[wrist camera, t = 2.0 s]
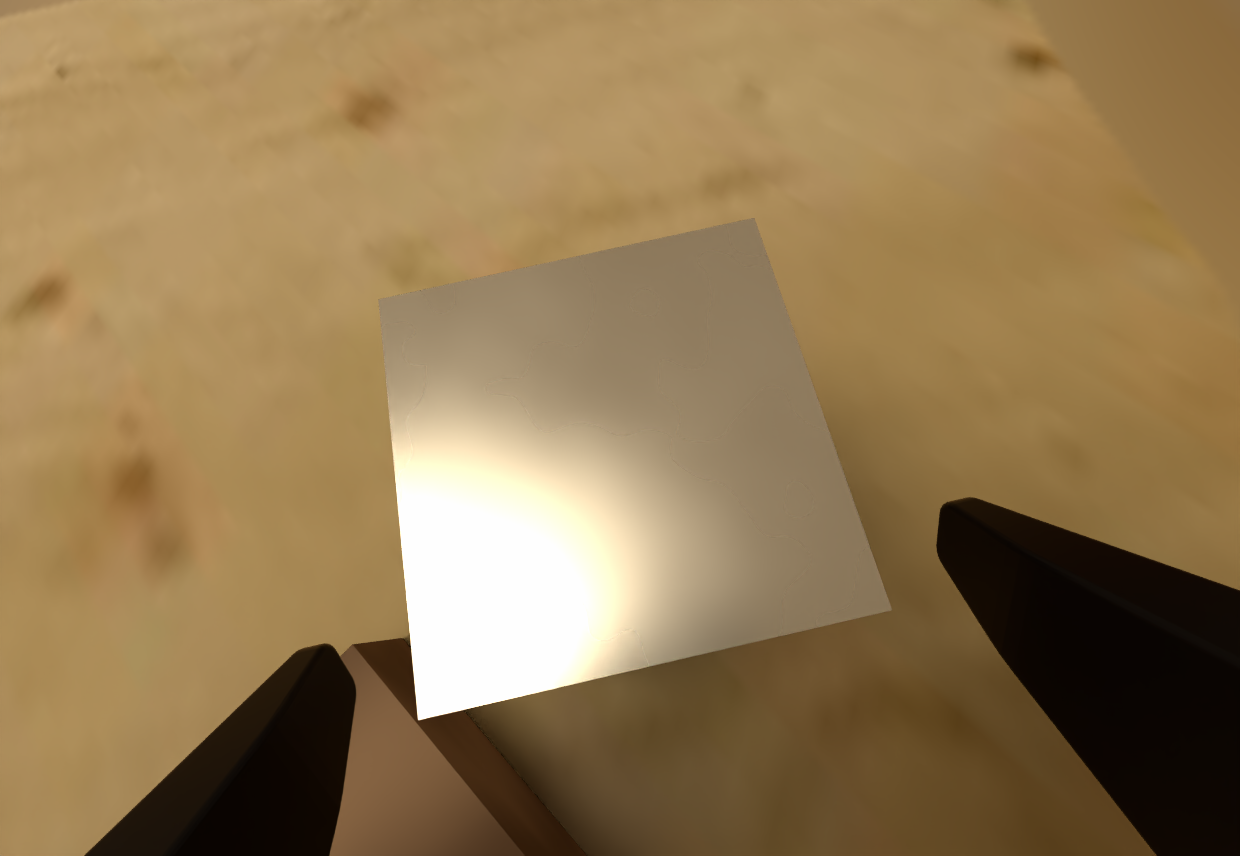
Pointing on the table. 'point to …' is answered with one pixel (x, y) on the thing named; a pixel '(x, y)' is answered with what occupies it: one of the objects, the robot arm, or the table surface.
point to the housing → (612, 469)
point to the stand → (429, 776)
